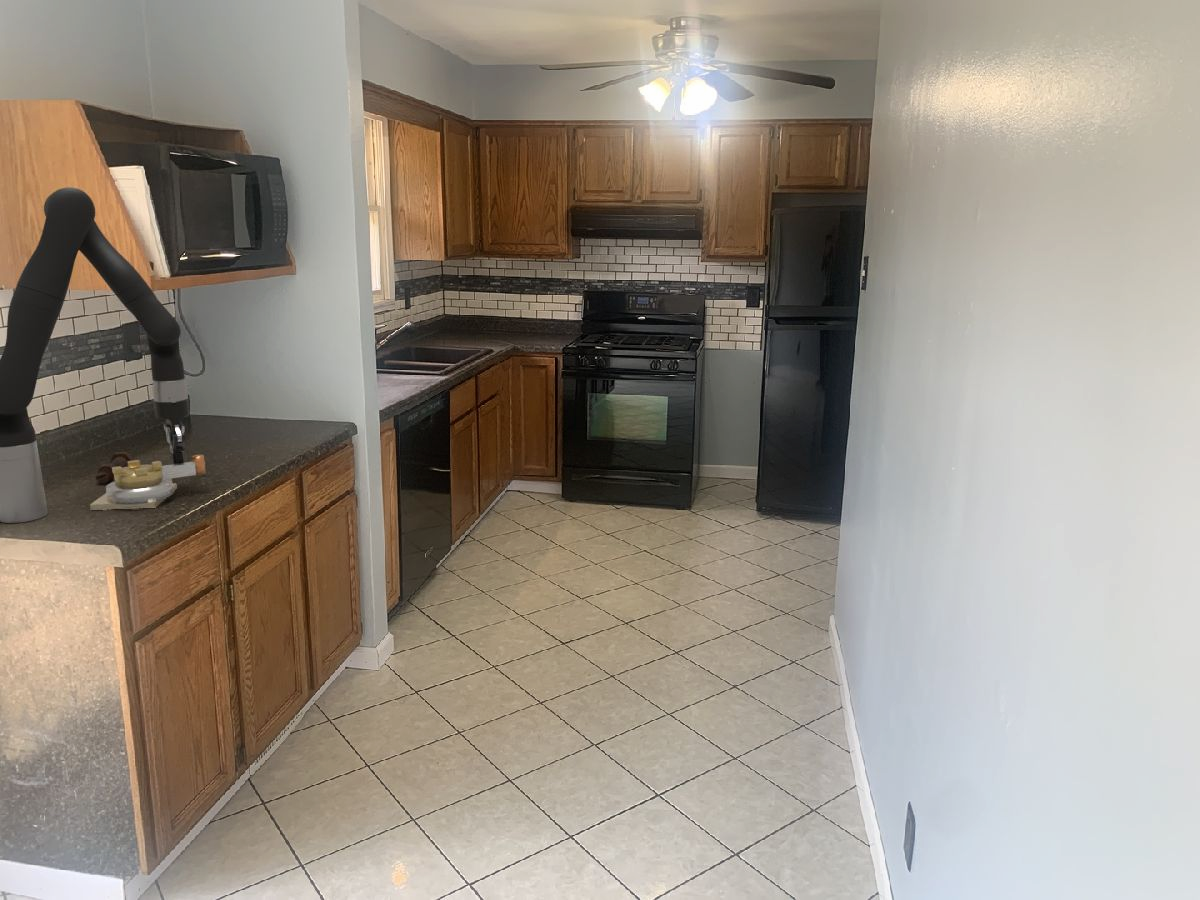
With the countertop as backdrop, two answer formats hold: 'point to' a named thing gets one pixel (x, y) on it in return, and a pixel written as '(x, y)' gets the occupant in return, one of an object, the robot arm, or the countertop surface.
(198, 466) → the yellow disc with lever
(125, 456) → the bolt
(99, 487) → the countertop surface
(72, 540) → the countertop surface
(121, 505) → the cap housing
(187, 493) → the countertop surface
